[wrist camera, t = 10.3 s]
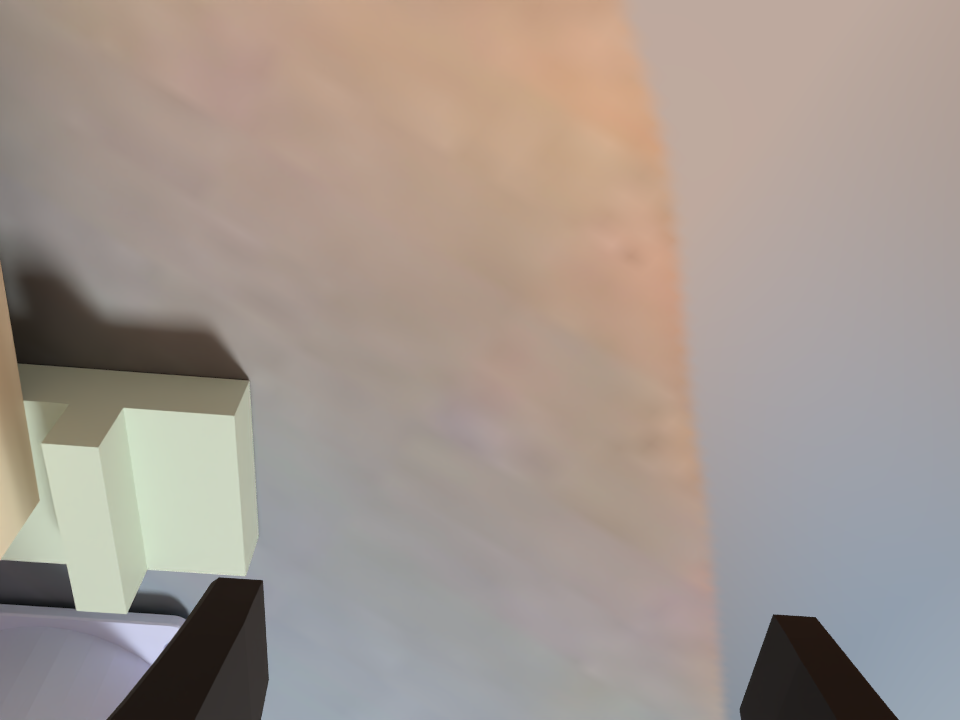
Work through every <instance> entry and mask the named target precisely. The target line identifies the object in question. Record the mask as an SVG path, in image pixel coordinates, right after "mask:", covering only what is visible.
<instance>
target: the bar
mask: <svg viewBox="0 0 960 720" xmlns="http://www.w3.org/2000/svg"><path fill="white" fill-rule="evenodd" d="M39 501H40V498H39V492H38V486H37V480H36V474H35V468H34V462H33V456H32V450H31V444H30V438H29V432H28V426H27V420H26V414H25V408H24V402H23V395H22V389H21V383H20V377H19V371H18V365H17V359H16V353H15V347H14V341H13V335H12V329H11V323H10V317H9V311H8V305H7V299H6V292H5V286H4V280H3V274H2V268H1V262H0V560H1V558H2V557H3V555H4V554H5V552H6V551H7V549H8V548H9V546H10V545H11V543H12V542H13V540H14V539H15V537H16V536H17V534H18V533H19V531H20V530H21V528H22V527H23V525H24V524H25V522H26V521H27V519H28V518H29V516H30V515H31V513H32V512H33V510H34V509H35V507H36V506H37V504H38V503H39Z"/></svg>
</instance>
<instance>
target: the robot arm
mask: <svg viewBox="0 0 960 720" xmlns="http://www.w3.org/2000/svg"><path fill="white" fill-rule="evenodd" d="M268 680H269V676H268V659H267V642H266V625H265V608H264V591H263V580H250V579H235V578H220V577H219V578H218V579H216V580H215V581H213V582H212V583H211V584H210V586H209V587H208V589H207V590H206V592H205V593H204V595H203V596H202V598H201V599H200V601H199V602H198V603H197V605H196V606H195V608H194V609H193V611H192V612H191V613H190V615H189V616H188V618H187V619H184V618H182V617H180V616H175V615H162V614H146V613H131V612H128V613H127V614H116V613H101V612H85V611H76V609H70V608H54V607H39V606H24V605H8V604H0V720H261V716H262V711H263V706H264V701H265V696H266V691H267V686H268ZM740 715H741V720H898V718H897V717H896V716H895V715H894V714H893V712H892V711H891V710H890V709H889V708H888V707H887V705H886V704H885V703H884V701H883V700H882V699H881V698H880V696H879V695H878V694H877V693H876V692H875V691H874V689H873V688H872V687H871V685H870V684H869V683H868V682H867V681H866V679H865V678H864V677H863V676H862V674H861V673H860V672H859V671H858V669H857V668H856V667H855V666H854V665H853V663H852V662H851V661H850V659H849V658H848V657H847V656H846V654H845V653H844V652H843V651H842V650H841V648H840V647H839V646H838V644H837V643H836V642H835V641H834V639H833V638H832V637H831V636H830V634H829V633H828V632H827V631H826V630H825V628H824V627H823V626H822V625H821V623H820V622H819V621H818V620H817V618H816V617H804V616H788V615H773V617H772V619H771V622H770V625H769V628H768V631H767V633H766V636H765V639H764V642H763V645H762V647H761V650H760V653H759V656H758V659H757V662H756V664H755V667H754V670H753V673H752V676H751V679H750V682H749V684H748V687H747V690H746V693H745V695H744V698H743V701H742V704H741V707H740Z"/></svg>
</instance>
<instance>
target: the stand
mask: <svg viewBox="0 0 960 720" xmlns="http://www.w3.org/2000/svg"><path fill="white" fill-rule="evenodd" d="M17 365H18V371H19V377H20V383H21V389H22V395H23V402H24V408H25V414H26V420H27V426H28V432H29V438H30V444H31V450H32V456H33V462H34V468H35V474H36V480H37V486H38V492H39V498H40V501H39V503H38V504H37V506H36V507H35V509H34V510H33V512H32V513H31V515H30V516H29V518H28V519H27V521H26V522H25V524H24V525H23V527H22V528H21V530H20V531H19V533H18V534H17V536H16V537H15V539H14V540H13V542H12V543H11V545H10V546H9V548H8V549H7V551H6V552H5V554H4V555H3V557H2V558H1V560H11V561H26V562H41V563H56V564H67V569H68V573H69V578H70V583H71V587H72V592H73V597H74V602H75V606H76V611H85V612H101V613H116V614H127V613H128V611H129V608H130V606H131V604H132V602H133V600H134V598H135V595H136V593H137V591H138V589H139V587H140V585H141V582H142V580H143V578H144V576H145V574H146V571H147V570H161V571H176V572H191V573H206V574H220V575H235V576H246V574H247V571H248V568H249V565H250V562H251V559H252V556H253V552H254V549H255V546H256V543H257V540H258V537H259V531H258V515H257V498H256V481H255V465H254V448H253V431H252V415H251V398H250V381H247V380H234V379H220V378H207V377H194V376H180V375H167V374H153V373H140V372H126V371H113V370H99V369H86V368H72V367H59V366H45V365H32V364H19V363H17Z"/></svg>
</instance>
